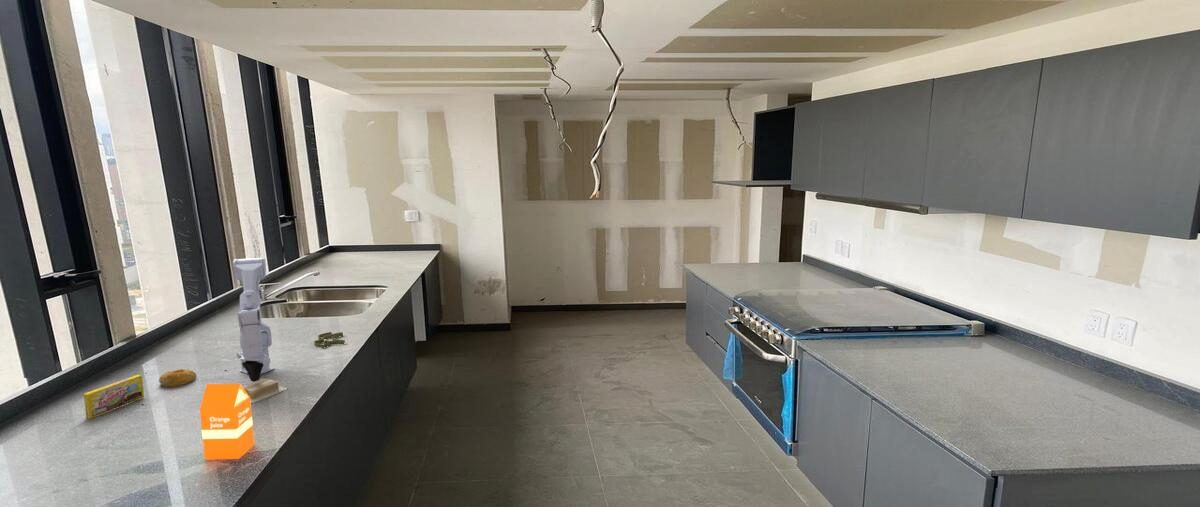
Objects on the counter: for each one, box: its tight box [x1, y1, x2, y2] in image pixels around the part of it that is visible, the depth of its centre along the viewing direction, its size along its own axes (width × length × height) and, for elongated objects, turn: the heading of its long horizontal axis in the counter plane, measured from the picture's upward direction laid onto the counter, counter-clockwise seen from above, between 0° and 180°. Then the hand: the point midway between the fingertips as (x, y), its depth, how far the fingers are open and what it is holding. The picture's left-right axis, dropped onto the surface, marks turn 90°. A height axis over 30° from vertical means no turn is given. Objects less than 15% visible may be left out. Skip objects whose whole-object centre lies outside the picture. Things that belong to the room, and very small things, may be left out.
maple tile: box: [241, 377, 279, 400], centre depth 184 cm, size 3×9×7 cm
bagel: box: [158, 368, 197, 388], centre depth 192 cm, size 10×11×5 cm
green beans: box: [313, 331, 346, 349], centre depth 239 cm, size 18×12×2 cm, turn 28°
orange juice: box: [199, 383, 255, 460], centre depth 146 cm, size 8×9×20 cm
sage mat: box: [250, 385, 288, 405], centre depth 184 cm, size 8×13×1 cm, turn 156°
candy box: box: [83, 374, 145, 419], centre depth 171 cm, size 16×2×8 cm, turn 168°
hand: (255, 380), depth 184 cm, fingers closed
